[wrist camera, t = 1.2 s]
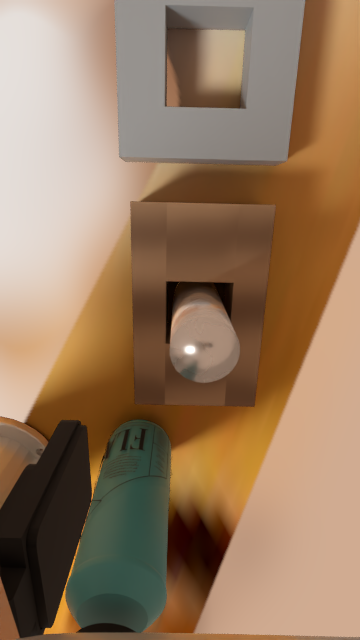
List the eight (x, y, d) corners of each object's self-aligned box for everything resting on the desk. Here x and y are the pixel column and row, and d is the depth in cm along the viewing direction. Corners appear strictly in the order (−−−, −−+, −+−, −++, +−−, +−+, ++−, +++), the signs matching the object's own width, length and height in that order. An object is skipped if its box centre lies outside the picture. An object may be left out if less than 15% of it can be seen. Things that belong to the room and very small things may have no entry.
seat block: (276, 165, 27) (287, 161, 25) (125, 161, 27) (119, 156, 24) (295, -26, 24) (311, -57, 21) (120, -31, 23) (112, -63, 21)
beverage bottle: (155, 398, 34) (124, 640, 15) (184, 448, 36) (189, 718, 17) (98, 423, 35) (3, 679, 16) (129, 470, 37) (77, 749, 18)
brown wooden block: (243, 377, 33) (254, 406, 29) (141, 375, 33) (134, 404, 29) (260, 204, 28) (275, 204, 24) (138, 201, 28) (130, 201, 24)
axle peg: (216, 318, 32) (237, 383, 20) (173, 317, 31) (169, 381, 20) (219, 275, 30) (242, 318, 19) (173, 274, 30) (169, 317, 19)
